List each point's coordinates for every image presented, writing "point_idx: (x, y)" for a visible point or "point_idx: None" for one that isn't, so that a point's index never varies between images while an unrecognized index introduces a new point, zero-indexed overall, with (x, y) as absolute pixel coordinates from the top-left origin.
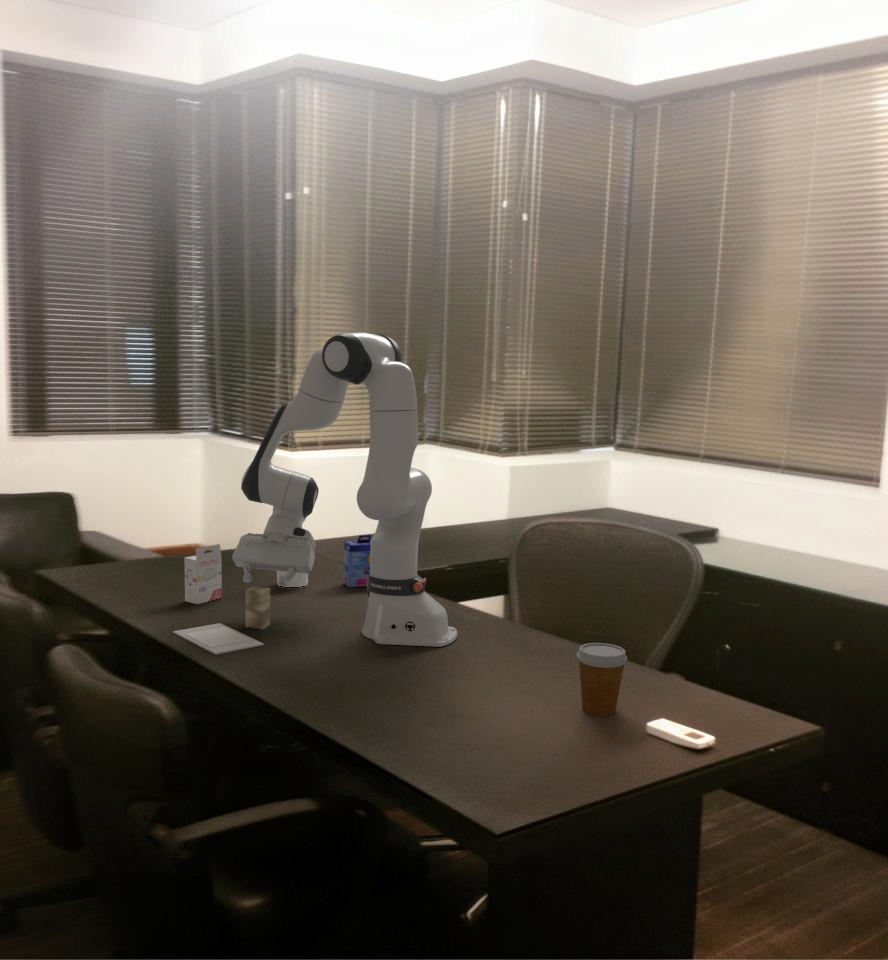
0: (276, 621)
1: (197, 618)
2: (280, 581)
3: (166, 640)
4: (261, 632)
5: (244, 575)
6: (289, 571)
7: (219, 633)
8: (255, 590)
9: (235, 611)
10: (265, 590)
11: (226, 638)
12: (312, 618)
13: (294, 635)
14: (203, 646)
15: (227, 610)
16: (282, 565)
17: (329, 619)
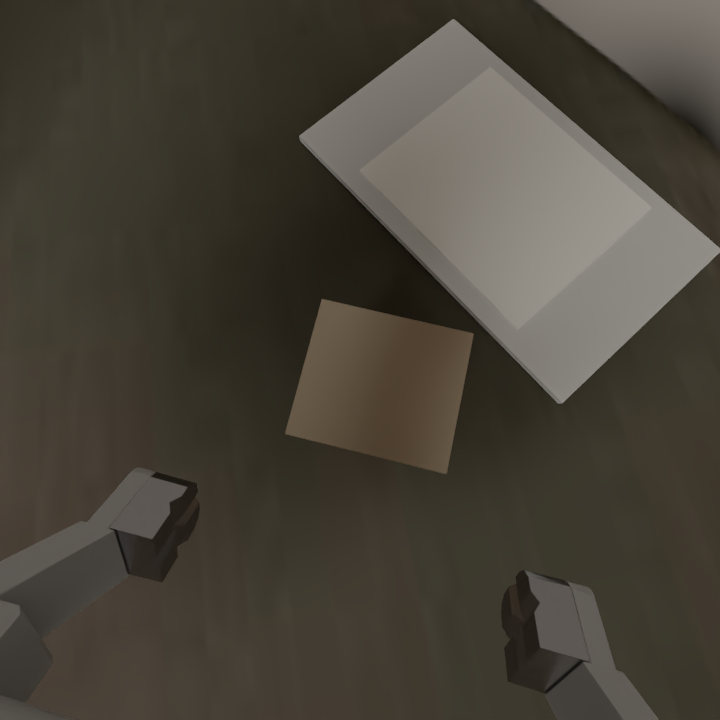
0: (296, 500)
1: (708, 508)
2: (175, 482)
3: (696, 158)
4: None
5: (596, 625)
6: (3, 583)
7: (508, 228)
8: (393, 338)
9: None
10: (312, 348)
11: (459, 168)
12: None
13: (189, 281)
14: (520, 80)
15: None
16: (52, 715)
17: None
